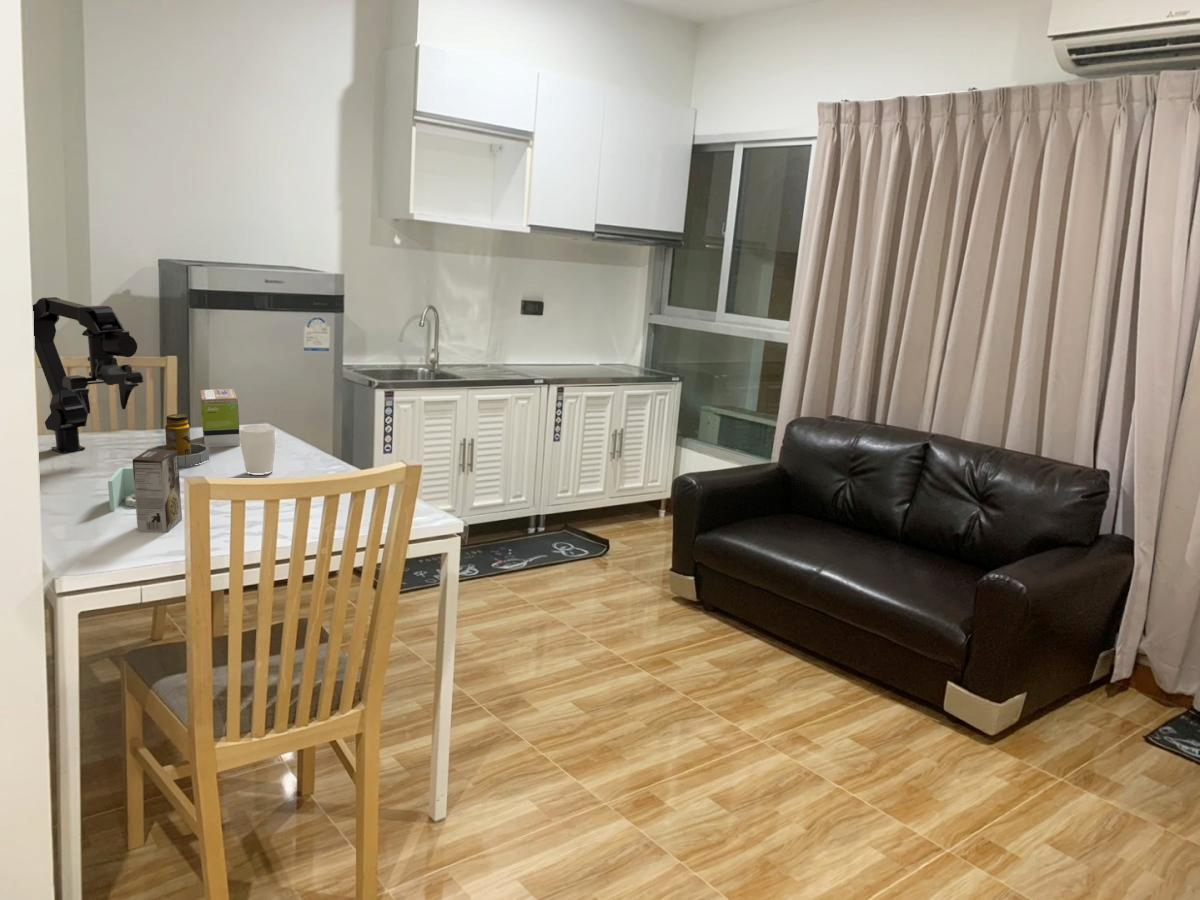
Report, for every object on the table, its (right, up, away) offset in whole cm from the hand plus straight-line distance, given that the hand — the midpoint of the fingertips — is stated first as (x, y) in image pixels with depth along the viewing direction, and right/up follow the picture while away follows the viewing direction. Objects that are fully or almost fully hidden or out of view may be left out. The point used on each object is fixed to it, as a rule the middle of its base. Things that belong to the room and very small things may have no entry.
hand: (106, 411), depth 247 cm
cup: (+43, -17, -4) cm, 46 cm away
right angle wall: (+27, -23, -33) cm, 48 cm away
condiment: (+17, -13, +3) cm, 22 cm away
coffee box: (+38, -27, -48) cm, 67 cm away
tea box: (+20, -8, +27) cm, 35 cm away
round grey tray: (+18, -13, +4) cm, 23 cm away
